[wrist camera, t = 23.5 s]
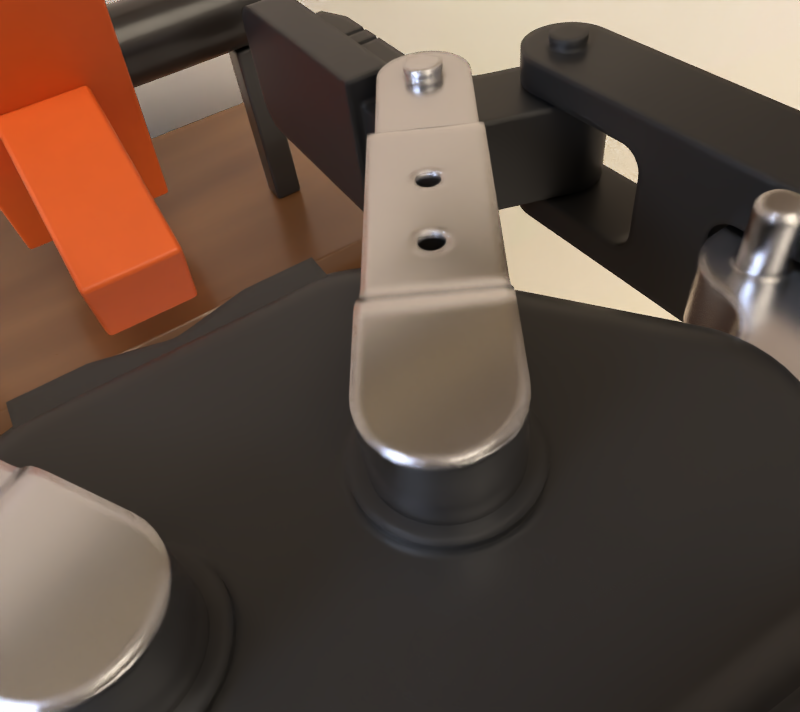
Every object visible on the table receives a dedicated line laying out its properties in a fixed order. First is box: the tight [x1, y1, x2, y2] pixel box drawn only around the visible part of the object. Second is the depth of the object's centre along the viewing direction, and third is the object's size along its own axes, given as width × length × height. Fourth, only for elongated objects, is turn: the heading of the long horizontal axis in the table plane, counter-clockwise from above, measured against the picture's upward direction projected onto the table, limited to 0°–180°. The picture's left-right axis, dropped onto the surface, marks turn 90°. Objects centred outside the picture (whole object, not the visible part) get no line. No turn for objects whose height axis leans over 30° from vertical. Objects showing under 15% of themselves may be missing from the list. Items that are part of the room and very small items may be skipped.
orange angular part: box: [0, 0, 197, 335], centre depth 12 cm, size 6×3×8 cm, turn 7°
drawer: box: [0, 0, 364, 436], centre depth 19 cm, size 18×11×7 cm, turn 8°
